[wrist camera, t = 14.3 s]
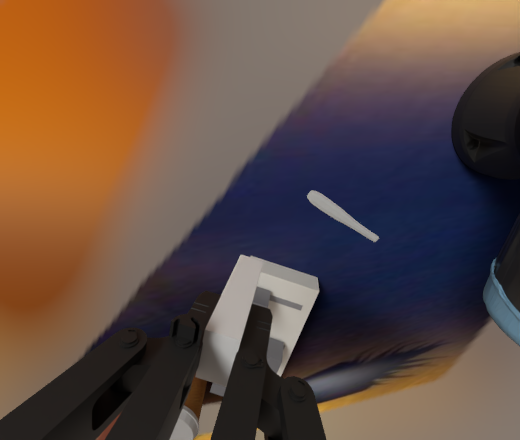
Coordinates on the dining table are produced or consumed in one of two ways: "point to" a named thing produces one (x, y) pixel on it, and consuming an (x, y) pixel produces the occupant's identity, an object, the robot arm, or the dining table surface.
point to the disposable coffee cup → (190, 412)
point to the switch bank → (287, 303)
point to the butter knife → (338, 214)
